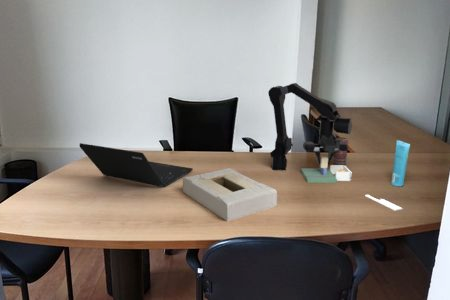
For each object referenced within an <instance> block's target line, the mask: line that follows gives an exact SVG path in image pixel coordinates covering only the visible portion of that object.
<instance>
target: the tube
mask: <svg viewBox="0 0 450 300" xmlns="http://www.w3.org/2000/svg"><path fill="white" fill-rule="evenodd" d="M395 145H396V146H395V153H394V159H393V160H394V161H393V167H392V173H391V174H392V175H391V185H392V186H395V187H402V186H404V184H405V177H406V170H407V165H408V164H407V163H408V159H409V152H410V148H411V144H410V143H407V142H404V141H402V140H398V139H396V143H395Z"/></svg>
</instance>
